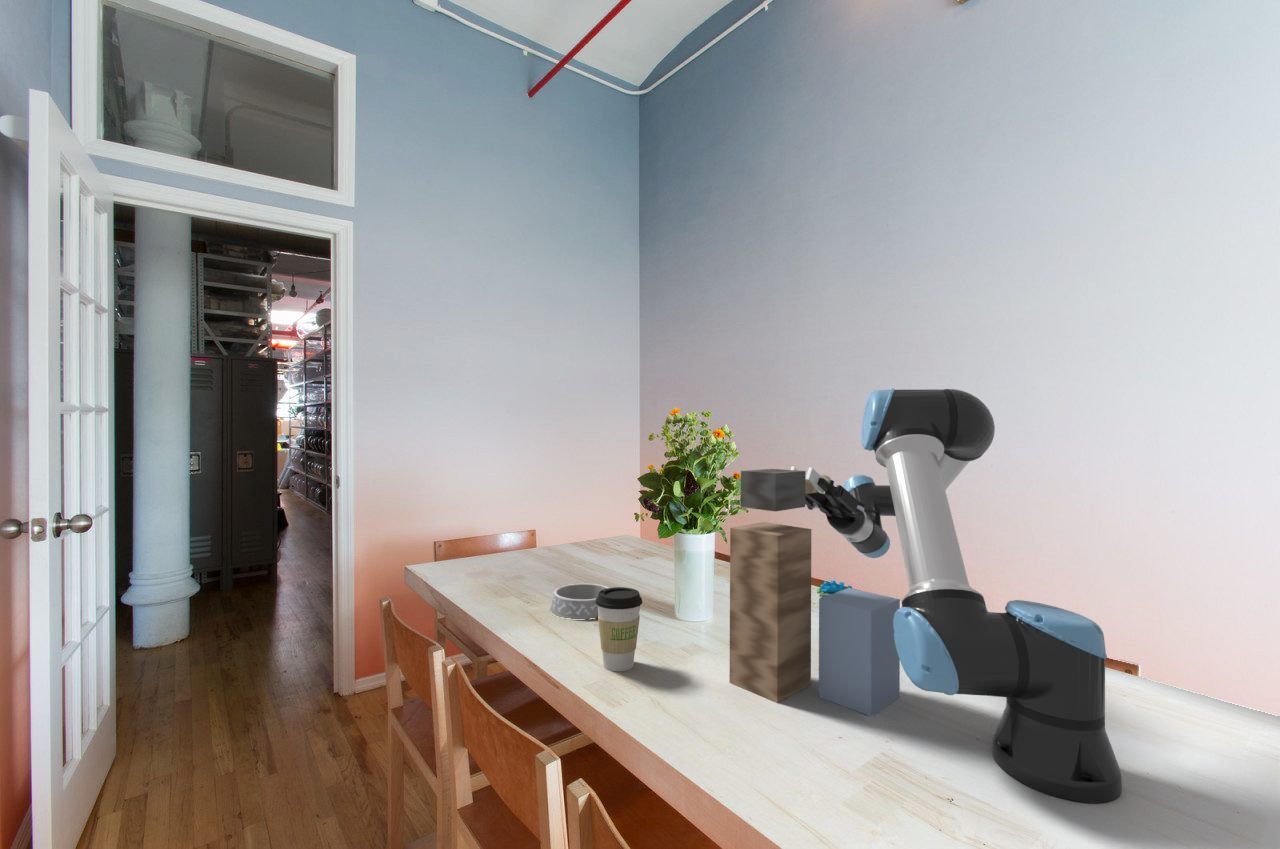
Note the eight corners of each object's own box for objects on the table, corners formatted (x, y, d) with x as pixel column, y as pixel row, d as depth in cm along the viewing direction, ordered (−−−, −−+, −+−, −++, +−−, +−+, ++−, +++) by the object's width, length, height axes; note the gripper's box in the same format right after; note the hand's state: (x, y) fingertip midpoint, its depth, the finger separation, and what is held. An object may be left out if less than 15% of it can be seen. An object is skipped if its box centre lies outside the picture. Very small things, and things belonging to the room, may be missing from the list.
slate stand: (899, 697, 106) (899, 599, 106) (870, 716, 99) (871, 611, 99) (848, 679, 114) (849, 587, 114) (818, 696, 106) (819, 598, 107)
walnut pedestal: (810, 685, 111) (811, 529, 111) (777, 702, 104) (777, 535, 104) (763, 667, 119) (764, 522, 119) (729, 682, 112) (730, 527, 112)
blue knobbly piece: (863, 599, 162) (850, 578, 157) (859, 618, 158) (846, 598, 154) (825, 597, 169) (812, 577, 164) (821, 615, 166) (807, 595, 161)
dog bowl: (629, 609, 158) (629, 589, 158) (579, 626, 144) (579, 604, 144) (586, 597, 169) (586, 578, 169) (536, 611, 156) (536, 591, 156)
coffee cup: (636, 677, 114) (637, 601, 114) (588, 672, 116) (589, 597, 116) (646, 657, 124) (646, 587, 124) (601, 654, 126) (602, 585, 126)
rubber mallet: (841, 501, 122) (842, 468, 122) (775, 511, 106) (775, 473, 106) (808, 497, 128) (808, 466, 128) (740, 506, 112) (740, 470, 112)
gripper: (880, 540, 125) (831, 492, 111) (812, 530, 137) (761, 485, 123) (888, 508, 127) (841, 458, 114) (821, 501, 139) (771, 455, 126)
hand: (799, 472), depth 119 cm, fingers closed on rubber mallet, 3 cm apart
